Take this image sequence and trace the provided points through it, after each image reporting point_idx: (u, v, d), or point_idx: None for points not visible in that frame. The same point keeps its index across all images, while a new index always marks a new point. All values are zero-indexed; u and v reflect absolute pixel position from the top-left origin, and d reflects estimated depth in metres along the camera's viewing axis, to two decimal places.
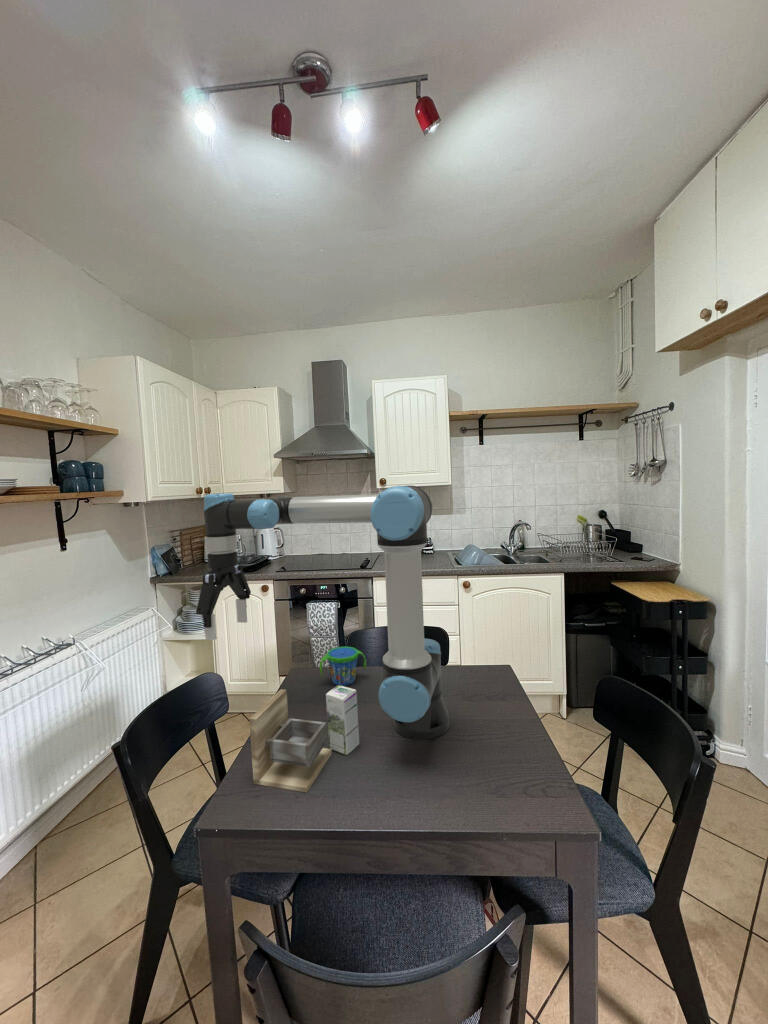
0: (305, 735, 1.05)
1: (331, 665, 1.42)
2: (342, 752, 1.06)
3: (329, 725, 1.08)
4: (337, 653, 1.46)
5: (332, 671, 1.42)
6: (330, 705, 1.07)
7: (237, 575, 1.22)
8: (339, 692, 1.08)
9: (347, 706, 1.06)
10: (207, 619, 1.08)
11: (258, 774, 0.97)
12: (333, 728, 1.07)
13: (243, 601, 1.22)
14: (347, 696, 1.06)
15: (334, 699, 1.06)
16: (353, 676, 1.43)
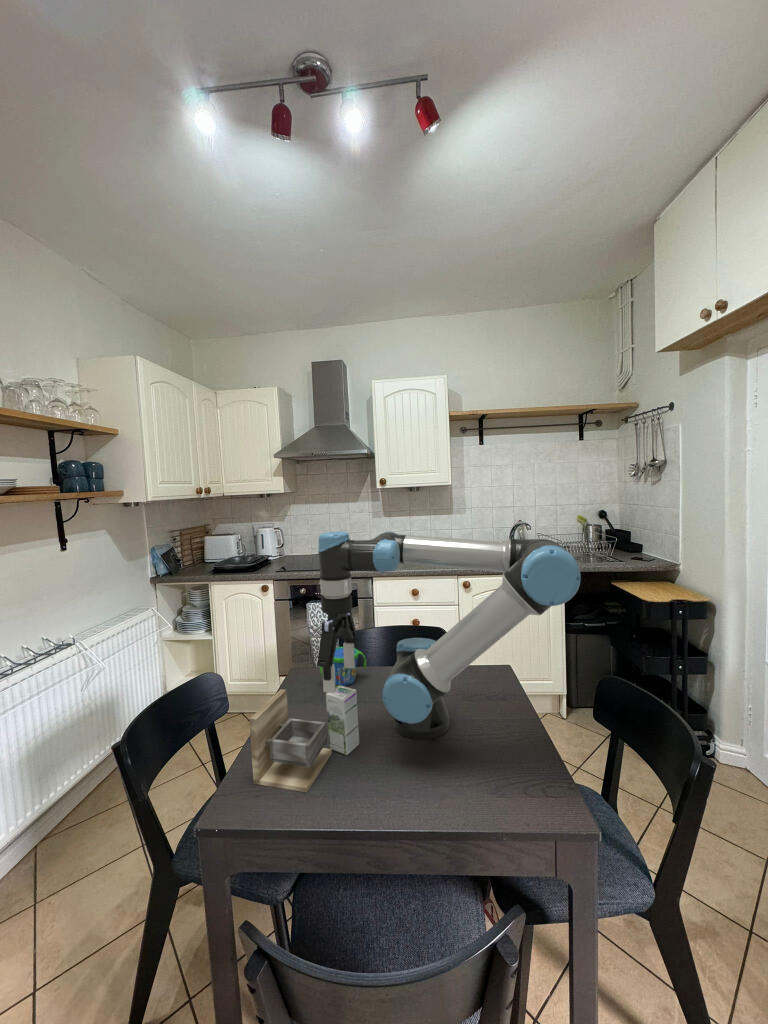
0: (305, 735, 1.05)
1: None
2: (342, 752, 1.06)
3: (329, 725, 1.08)
4: (337, 653, 1.46)
5: None
6: (330, 705, 1.07)
7: (346, 617, 1.13)
8: (339, 692, 1.08)
9: (347, 706, 1.06)
10: (328, 671, 1.00)
11: (258, 774, 0.97)
12: (333, 728, 1.07)
13: (351, 645, 1.14)
14: (347, 696, 1.06)
15: (334, 699, 1.06)
16: (353, 676, 1.43)
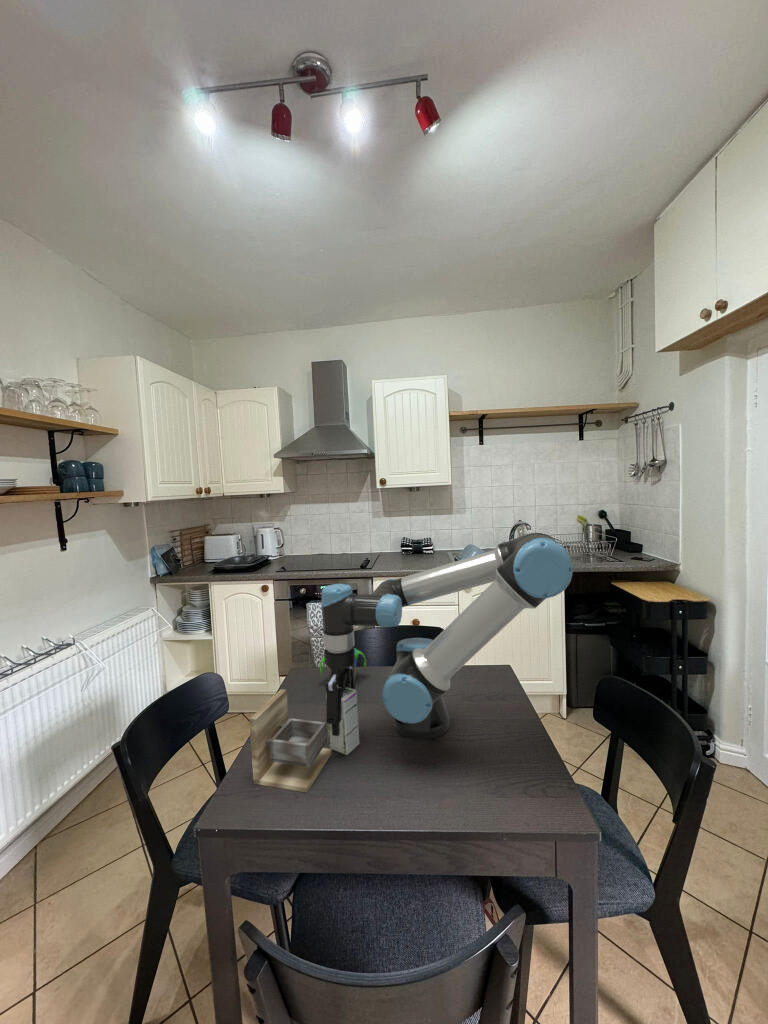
0: (305, 735, 1.05)
1: None
2: (342, 752, 1.06)
3: (329, 725, 1.08)
4: None
5: None
6: None
7: None
8: None
9: (347, 706, 1.06)
10: (337, 727, 1.04)
11: (258, 774, 0.97)
12: None
13: None
14: (347, 696, 1.06)
15: None
16: None
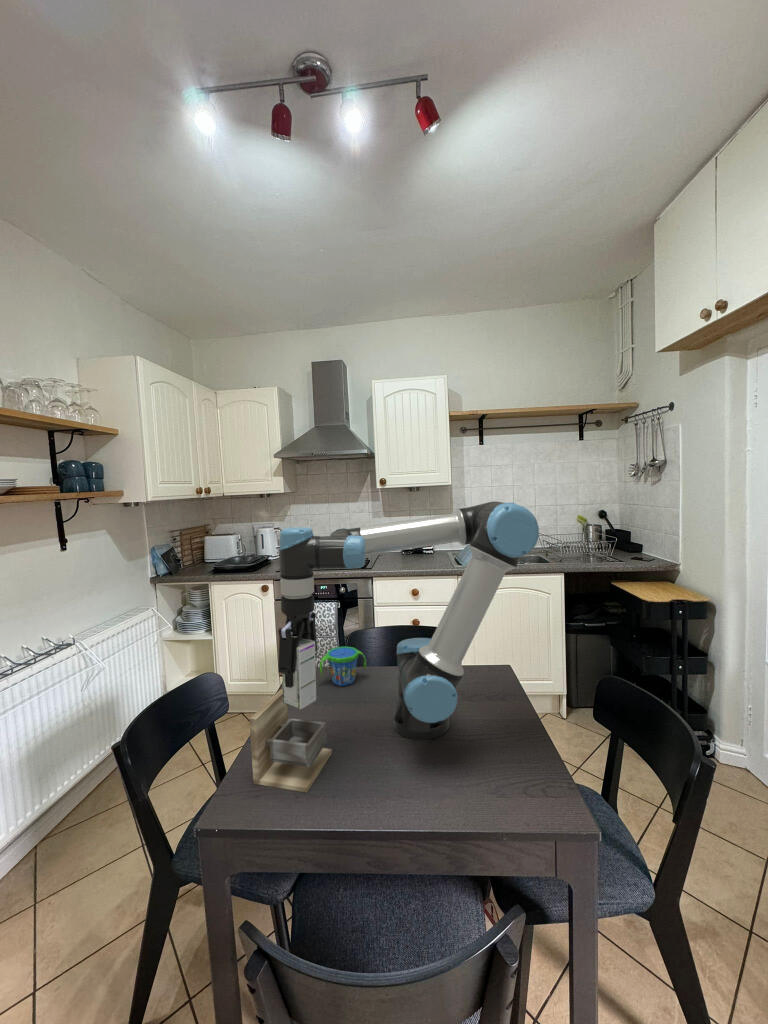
0: (305, 735, 1.05)
1: (331, 665, 1.42)
2: (296, 706, 0.99)
3: (284, 677, 1.01)
4: (337, 653, 1.46)
5: (332, 671, 1.42)
6: None
7: None
8: None
9: (303, 657, 0.99)
10: (290, 678, 0.96)
11: (258, 774, 0.97)
12: None
13: None
14: (304, 646, 0.99)
15: None
16: (353, 676, 1.43)
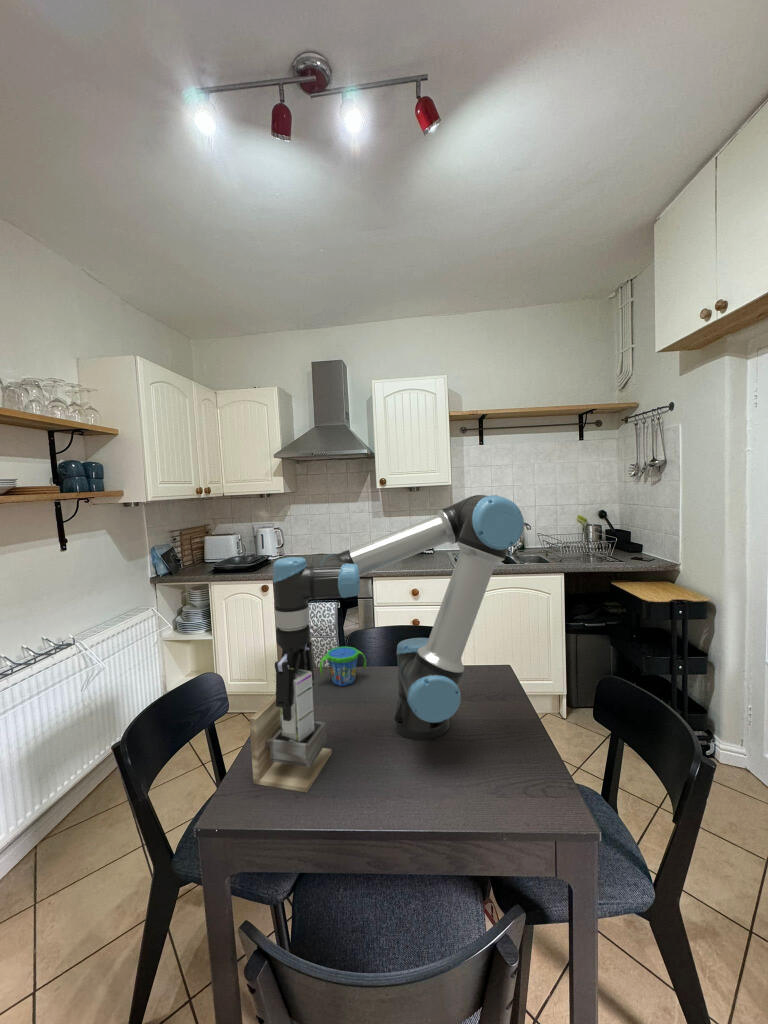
0: None
1: (331, 665, 1.42)
2: (294, 739, 0.98)
3: (281, 709, 0.99)
4: (337, 653, 1.46)
5: (332, 671, 1.42)
6: None
7: None
8: None
9: (300, 689, 0.98)
10: (288, 711, 0.95)
11: (258, 774, 0.97)
12: None
13: None
14: (300, 678, 0.98)
15: None
16: (353, 676, 1.43)
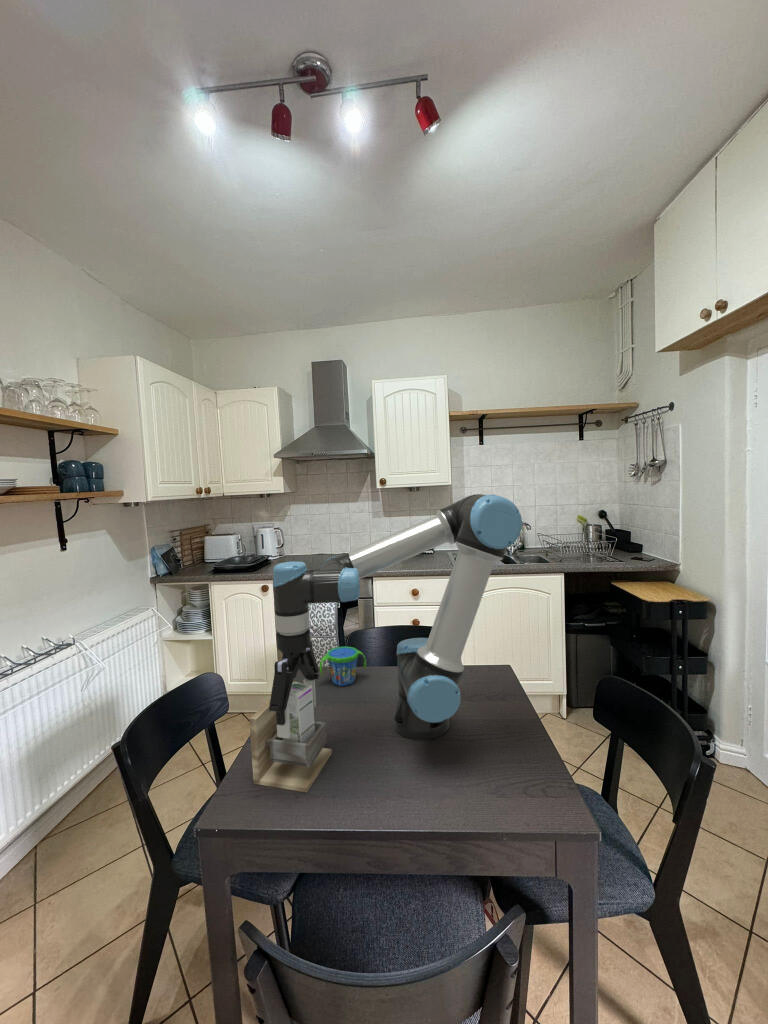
0: None
1: (331, 665, 1.42)
2: None
3: None
4: (337, 653, 1.46)
5: (332, 671, 1.42)
6: None
7: (306, 652, 1.06)
8: (293, 688, 1.00)
9: (302, 703, 0.98)
10: (281, 715, 0.93)
11: (258, 774, 0.97)
12: None
13: (312, 683, 1.06)
14: (302, 692, 0.98)
15: None
16: (353, 676, 1.43)
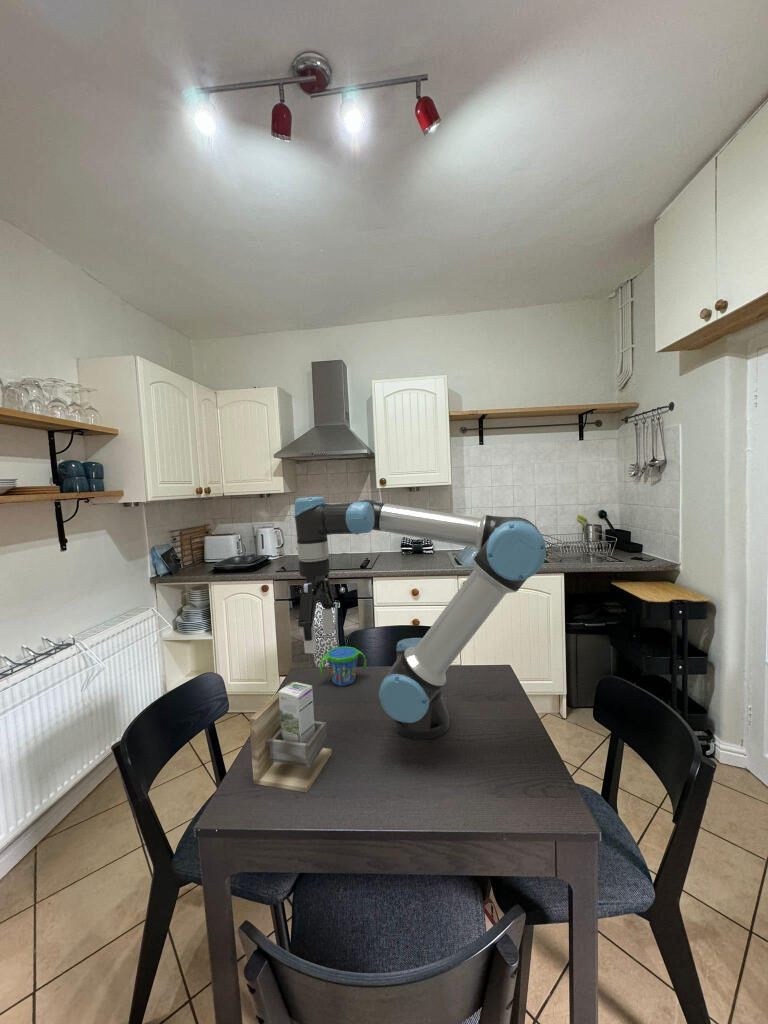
0: None
1: (331, 665, 1.42)
2: None
3: (282, 725, 1.00)
4: (337, 653, 1.46)
5: (332, 671, 1.42)
6: (283, 703, 0.99)
7: None
8: (293, 689, 1.00)
9: (302, 704, 0.98)
10: (309, 631, 1.01)
11: (258, 774, 0.97)
12: (287, 728, 0.99)
13: (330, 611, 1.16)
14: (302, 693, 0.98)
15: (288, 697, 0.98)
16: (353, 676, 1.43)
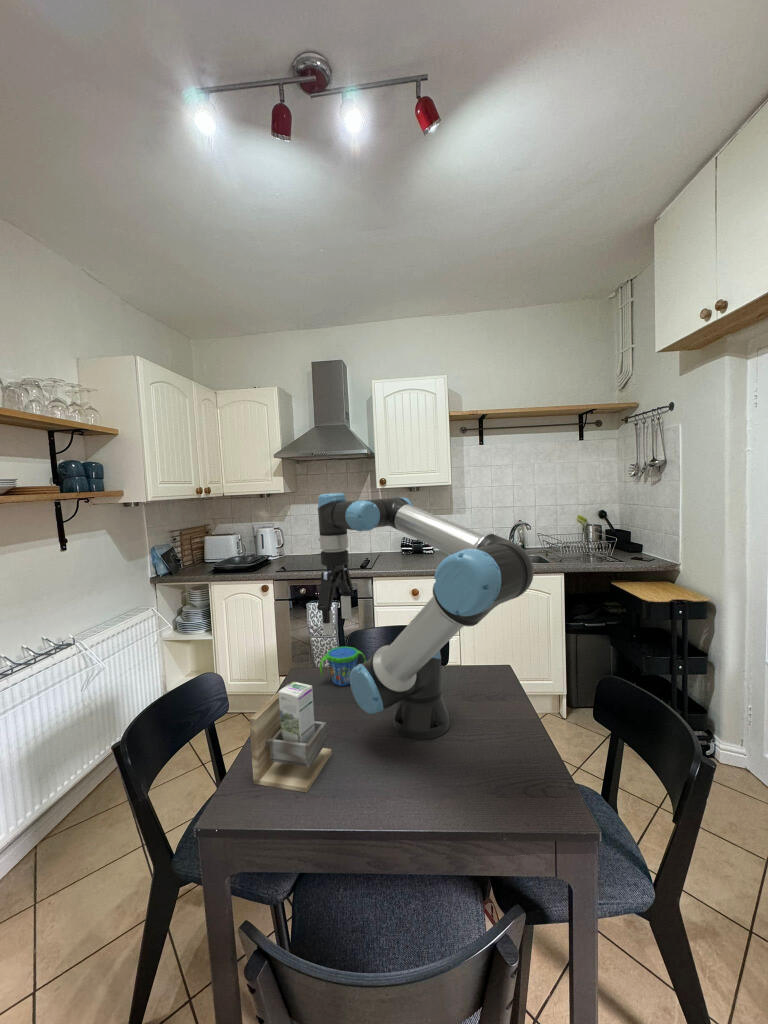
0: None
1: (331, 665, 1.42)
2: None
3: (282, 725, 1.00)
4: (337, 653, 1.46)
5: (332, 671, 1.42)
6: (283, 703, 0.99)
7: None
8: (293, 689, 1.00)
9: (302, 704, 0.98)
10: (327, 615, 1.12)
11: (258, 774, 0.97)
12: (287, 728, 0.99)
13: (348, 598, 1.26)
14: (302, 693, 0.98)
15: (287, 697, 0.98)
16: None
